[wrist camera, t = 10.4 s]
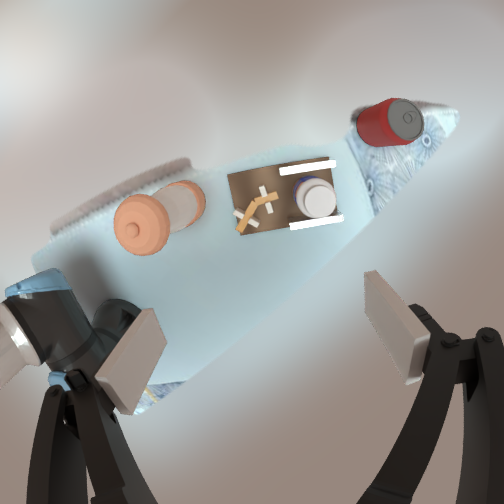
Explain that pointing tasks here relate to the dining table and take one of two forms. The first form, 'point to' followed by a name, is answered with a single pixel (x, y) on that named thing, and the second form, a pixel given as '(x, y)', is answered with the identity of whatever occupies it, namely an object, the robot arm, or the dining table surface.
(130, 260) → the dining table surface
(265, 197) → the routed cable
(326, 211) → the pill bottle
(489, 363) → the robot arm
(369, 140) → the beer can
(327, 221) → the end holder
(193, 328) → the dining table surface
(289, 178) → the board
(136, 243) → the pepper shaker
